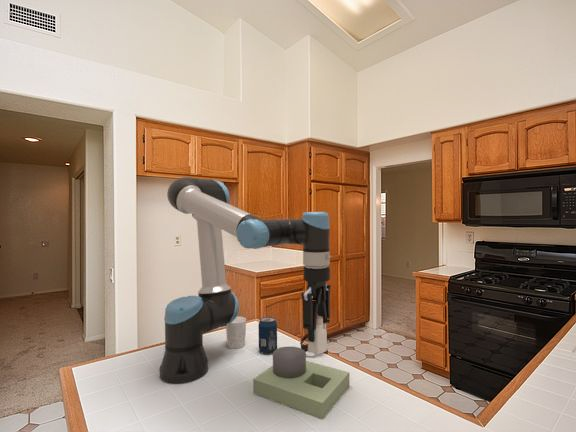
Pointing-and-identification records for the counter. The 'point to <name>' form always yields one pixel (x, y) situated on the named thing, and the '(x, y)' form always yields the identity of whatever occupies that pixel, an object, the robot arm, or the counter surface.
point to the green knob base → (301, 382)
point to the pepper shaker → (321, 335)
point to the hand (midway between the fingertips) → (317, 348)
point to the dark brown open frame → (305, 346)
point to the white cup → (236, 333)
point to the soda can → (267, 335)
